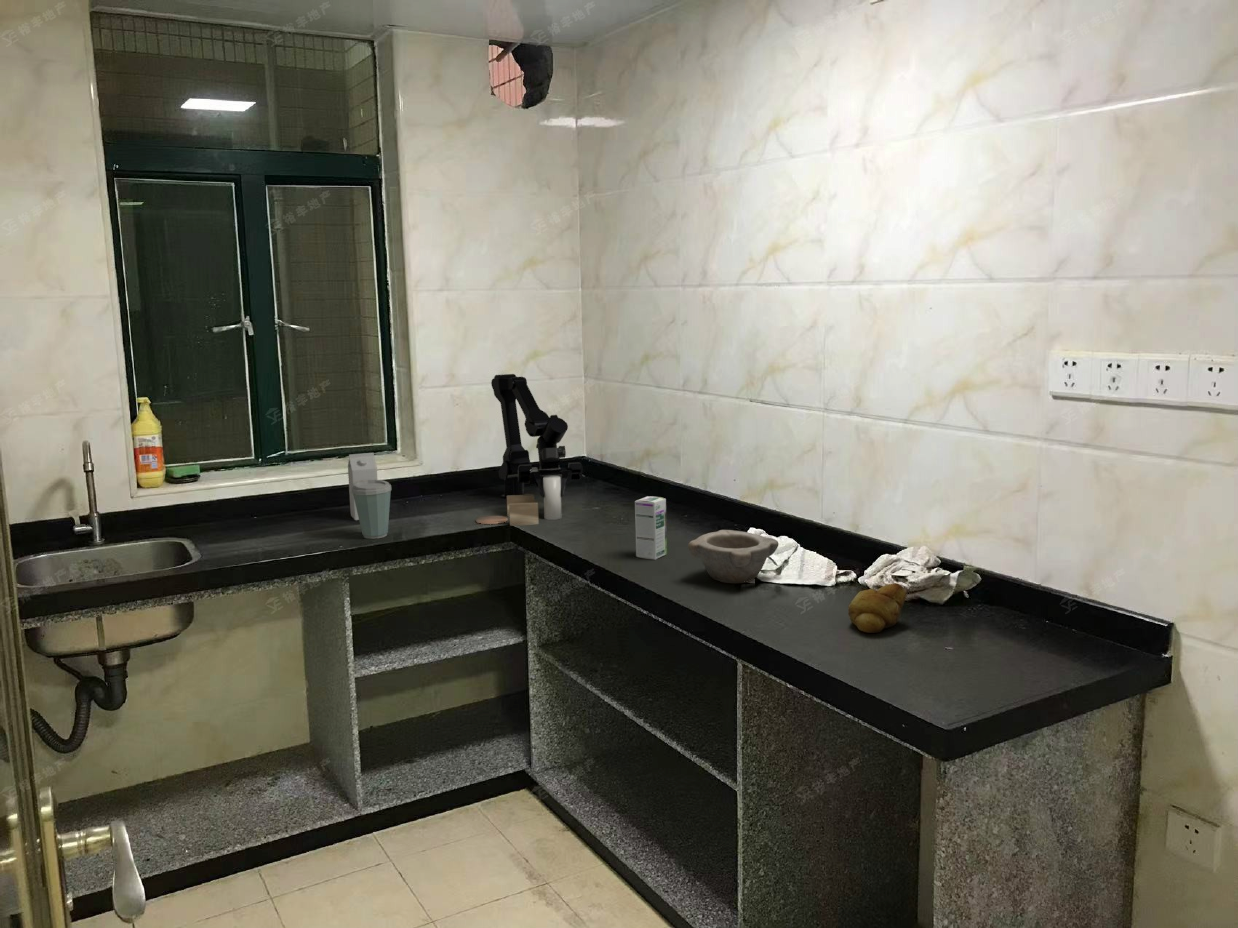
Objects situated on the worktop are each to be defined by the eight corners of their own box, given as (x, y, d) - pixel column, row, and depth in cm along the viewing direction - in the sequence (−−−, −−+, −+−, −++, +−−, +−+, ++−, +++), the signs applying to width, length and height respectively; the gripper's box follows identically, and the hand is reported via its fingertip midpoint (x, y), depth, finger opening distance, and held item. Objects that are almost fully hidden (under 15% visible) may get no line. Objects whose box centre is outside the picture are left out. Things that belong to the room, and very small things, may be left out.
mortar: (741, 594, 211) (742, 553, 209) (680, 579, 222) (680, 540, 220) (784, 577, 223) (785, 538, 221) (724, 564, 234) (725, 526, 233)
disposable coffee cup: (403, 534, 267) (400, 480, 264) (373, 543, 258) (370, 487, 255) (375, 529, 273) (372, 477, 270) (345, 538, 264) (342, 483, 261)
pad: (490, 516, 287) (490, 514, 287) (514, 519, 283) (514, 518, 283) (469, 522, 280) (469, 520, 280) (493, 526, 275) (493, 524, 275)
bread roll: (883, 640, 182) (884, 599, 181) (834, 630, 188) (835, 590, 186) (908, 621, 192) (910, 582, 191) (861, 612, 198) (862, 574, 197)
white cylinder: (551, 515, 288) (550, 475, 286) (564, 517, 285) (563, 476, 283) (540, 518, 284) (539, 477, 281) (554, 520, 281) (553, 479, 279)
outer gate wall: (509, 524, 277) (509, 503, 276) (538, 523, 279) (537, 502, 278) (510, 525, 276) (509, 504, 275) (538, 524, 277) (538, 503, 276)
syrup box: (655, 560, 238) (655, 501, 236) (634, 557, 241) (634, 499, 239) (667, 554, 243) (667, 497, 240) (646, 551, 246) (646, 495, 243)
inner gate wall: (507, 515, 289) (506, 495, 288) (534, 514, 290) (533, 494, 289) (507, 516, 287) (507, 496, 286) (534, 515, 288) (534, 495, 287)
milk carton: (350, 516, 290) (346, 452, 287) (374, 513, 293) (371, 450, 290) (355, 520, 284) (351, 456, 280) (379, 518, 287) (376, 454, 283)
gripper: (517, 437, 283) (521, 482, 274) (581, 435, 286) (587, 479, 277) (516, 460, 292) (519, 504, 283) (578, 457, 295) (583, 500, 286)
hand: (552, 496), depth 282 cm, fingers closed on white cylinder, 5 cm apart
